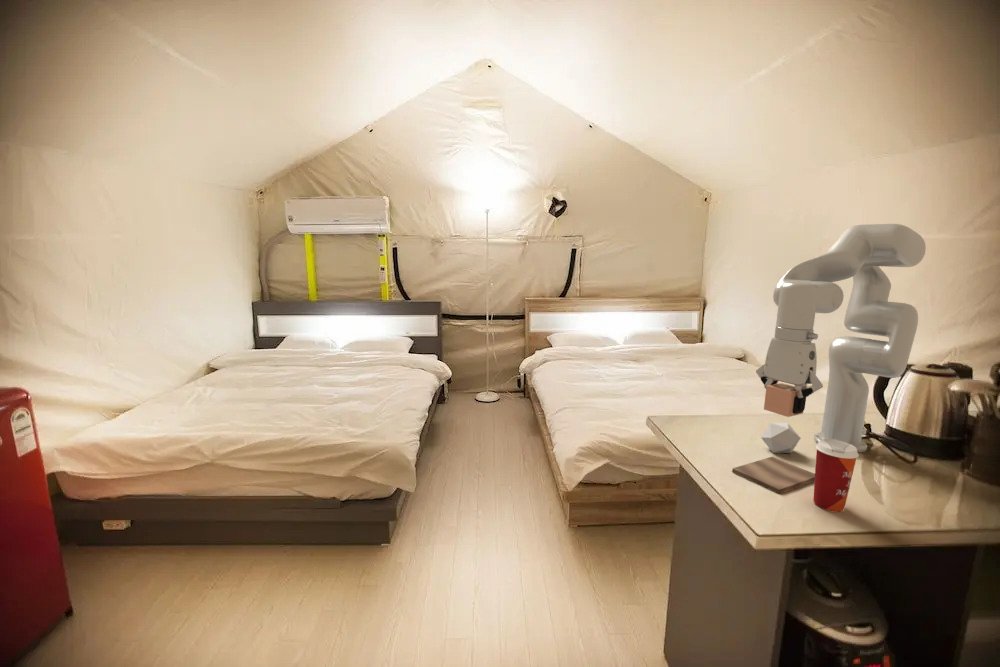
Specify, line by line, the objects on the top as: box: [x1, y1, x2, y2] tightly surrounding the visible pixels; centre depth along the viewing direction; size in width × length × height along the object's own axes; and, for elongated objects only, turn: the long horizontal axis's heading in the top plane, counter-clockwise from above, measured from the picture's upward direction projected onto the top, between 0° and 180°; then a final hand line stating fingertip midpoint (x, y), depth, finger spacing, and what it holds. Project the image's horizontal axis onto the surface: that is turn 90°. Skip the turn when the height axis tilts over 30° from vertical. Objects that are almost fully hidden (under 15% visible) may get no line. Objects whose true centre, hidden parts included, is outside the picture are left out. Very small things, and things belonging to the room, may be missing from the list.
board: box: [731, 456, 815, 494], centre depth 118 cm, size 16×12×1 cm
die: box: [760, 422, 801, 454], centre depth 133 cm, size 8×9×10 cm
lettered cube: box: [763, 382, 805, 418], centre depth 115 cm, size 6×6×6 cm
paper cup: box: [813, 439, 860, 513], centre depth 104 cm, size 8×8×14 cm
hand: (783, 407), depth 115 cm, fingers closed on lettered cube, 6 cm apart
